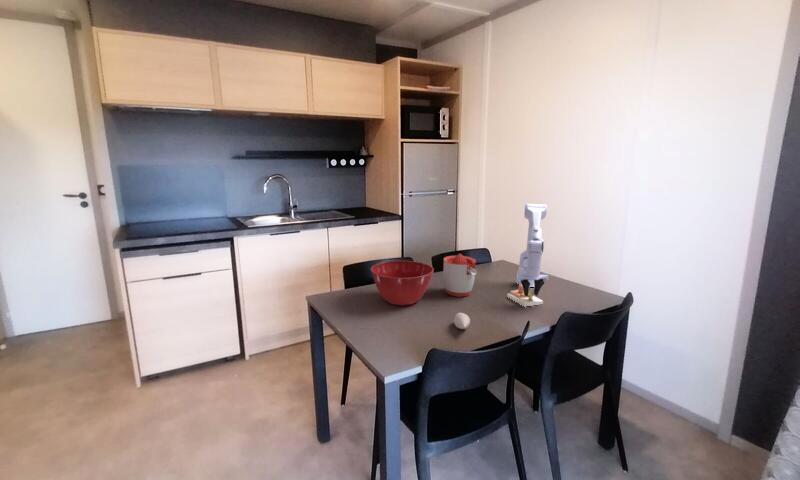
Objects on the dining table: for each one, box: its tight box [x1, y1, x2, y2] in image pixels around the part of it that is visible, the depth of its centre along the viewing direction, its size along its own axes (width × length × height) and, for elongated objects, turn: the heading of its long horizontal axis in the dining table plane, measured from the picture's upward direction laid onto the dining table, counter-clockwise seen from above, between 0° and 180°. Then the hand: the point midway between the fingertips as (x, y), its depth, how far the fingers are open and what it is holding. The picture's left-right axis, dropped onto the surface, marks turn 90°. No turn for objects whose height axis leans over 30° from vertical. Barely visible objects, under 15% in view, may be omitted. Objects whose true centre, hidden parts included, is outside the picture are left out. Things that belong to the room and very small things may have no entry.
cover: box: [509, 285, 529, 298], centre depth 182 cm, size 7×7×5 cm
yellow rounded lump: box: [520, 288, 534, 301], centre depth 176 cm, size 6×6×5 cm
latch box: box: [506, 293, 544, 308], centre depth 180 cm, size 13×10×2 cm
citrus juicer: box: [442, 253, 478, 298], centre depth 186 cm, size 16×17×20 cm
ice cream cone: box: [453, 312, 471, 330], centre depth 148 cm, size 6×6×15 cm
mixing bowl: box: [370, 260, 434, 306], centre depth 177 cm, size 28×28×15 cm
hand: (530, 295), depth 175 cm, fingers closed on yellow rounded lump, 4 cm apart
